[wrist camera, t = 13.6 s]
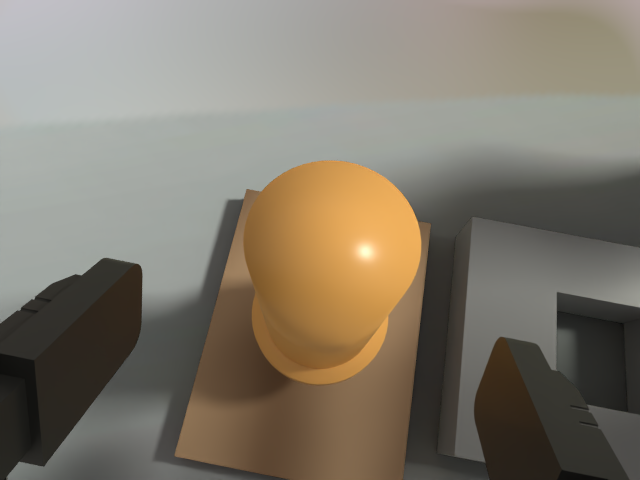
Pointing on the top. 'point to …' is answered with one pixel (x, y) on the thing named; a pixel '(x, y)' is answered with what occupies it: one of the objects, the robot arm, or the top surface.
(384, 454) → the board
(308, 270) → the plug
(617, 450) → the grey socket board
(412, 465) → the top surface
